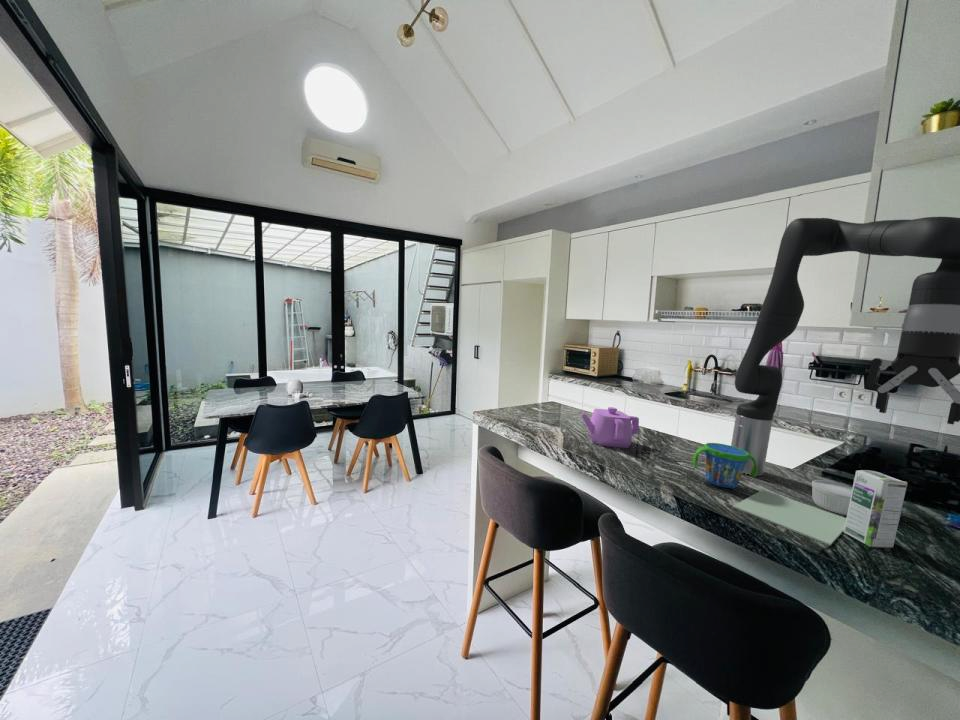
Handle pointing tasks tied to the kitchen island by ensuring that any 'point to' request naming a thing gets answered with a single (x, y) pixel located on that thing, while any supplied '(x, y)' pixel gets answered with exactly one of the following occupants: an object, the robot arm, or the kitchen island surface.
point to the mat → (794, 516)
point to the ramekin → (831, 496)
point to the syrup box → (875, 508)
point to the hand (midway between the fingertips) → (914, 417)
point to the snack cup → (724, 464)
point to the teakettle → (611, 427)
